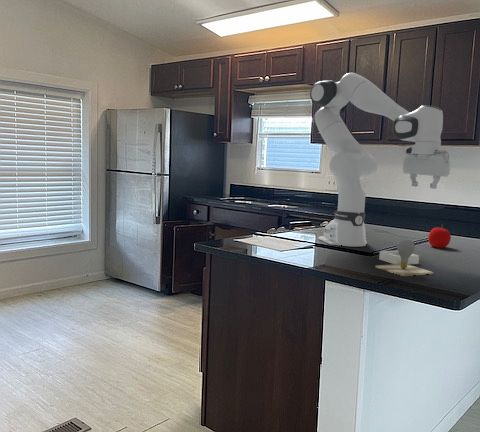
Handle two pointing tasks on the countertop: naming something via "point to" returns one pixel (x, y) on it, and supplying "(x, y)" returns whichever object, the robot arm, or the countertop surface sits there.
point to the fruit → (439, 237)
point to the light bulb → (405, 251)
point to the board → (404, 270)
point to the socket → (397, 257)
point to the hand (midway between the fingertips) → (423, 187)
